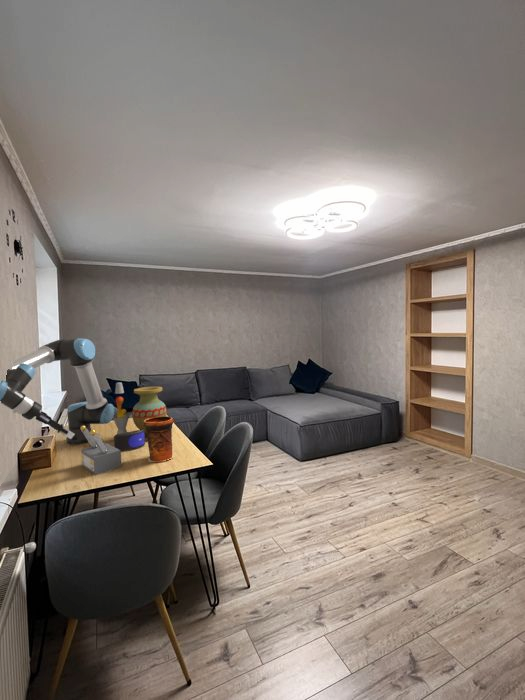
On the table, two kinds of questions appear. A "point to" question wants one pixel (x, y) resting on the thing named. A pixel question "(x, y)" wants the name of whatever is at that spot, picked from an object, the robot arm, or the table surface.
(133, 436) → the dark grey curved slab
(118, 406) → the lava lamp
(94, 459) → the console
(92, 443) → the lever
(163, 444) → the vessel
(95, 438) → the lever
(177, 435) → the table surface
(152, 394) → the vase
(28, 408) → the robot arm
